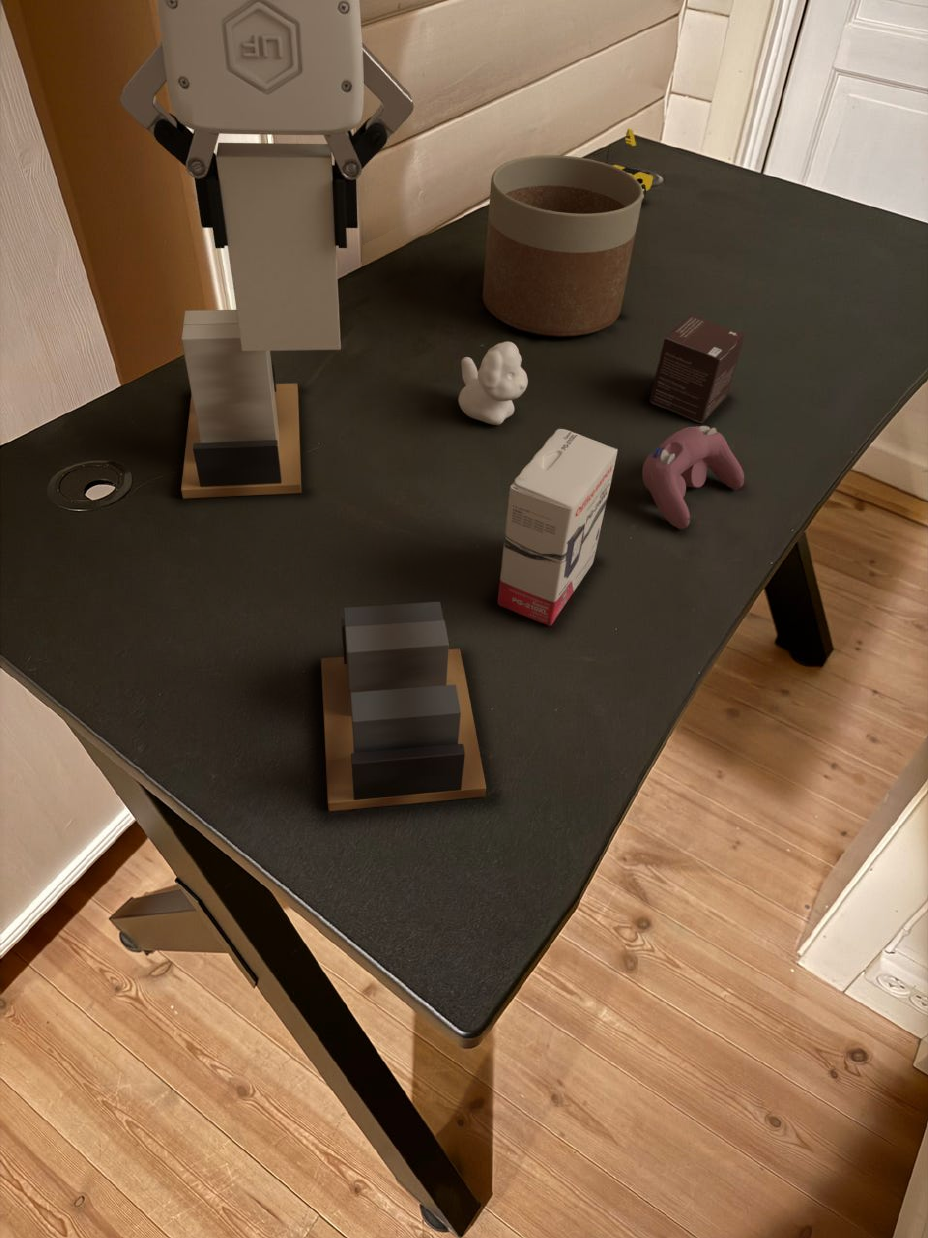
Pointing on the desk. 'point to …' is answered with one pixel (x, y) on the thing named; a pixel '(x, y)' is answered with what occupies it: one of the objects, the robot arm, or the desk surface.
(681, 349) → the box
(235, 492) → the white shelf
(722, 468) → the video game controller
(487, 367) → the figurine
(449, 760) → the grey shelf
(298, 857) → the desk surface
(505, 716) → the desk surface
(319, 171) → the white book
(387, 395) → the desk surface
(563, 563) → the ink box
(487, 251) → the planter
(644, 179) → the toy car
